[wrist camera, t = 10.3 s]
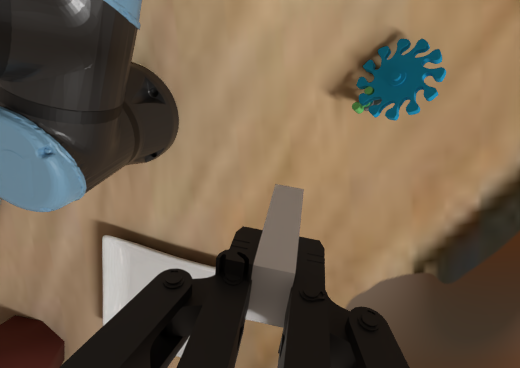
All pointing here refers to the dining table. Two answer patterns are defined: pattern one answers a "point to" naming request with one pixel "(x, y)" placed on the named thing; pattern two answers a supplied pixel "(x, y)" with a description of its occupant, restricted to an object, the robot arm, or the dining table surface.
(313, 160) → the dining table surface
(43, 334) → the bucket
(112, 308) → the square plate
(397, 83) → the gear
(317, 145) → the dining table surface
